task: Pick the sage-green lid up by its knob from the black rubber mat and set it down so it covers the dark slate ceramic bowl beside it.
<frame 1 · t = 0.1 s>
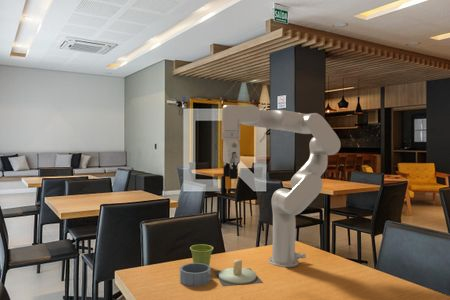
hand: (230, 177, 146), 37 cm above the table, tool pointing down, fingers open, 9 cm apart
plant pot: (201, 269, 143), on the table
mat: (237, 278, 134), on the table
lid: (237, 276, 134), point 1 cm above the table, touching mat
bowl: (195, 281, 130), on the table
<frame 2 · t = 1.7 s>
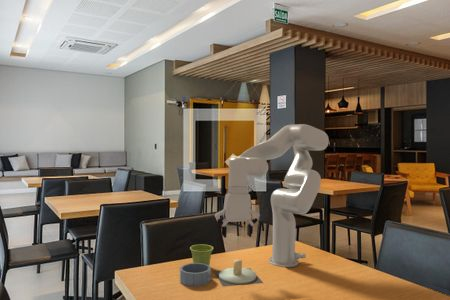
hand: (236, 236, 134), 16 cm above the table, tool pointing down, fingers open, 9 cm apart
nothing on the table moved.
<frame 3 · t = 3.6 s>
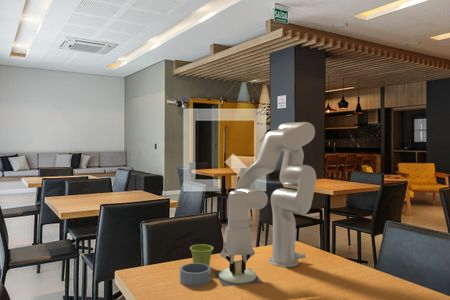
hand: (237, 272, 134), 2 cm above the table, tool pointing down, fingers closed on lid, 3 cm apart
lid: (237, 276, 134), point 1 cm above the table, touching gripper, mat
everything else where it was.
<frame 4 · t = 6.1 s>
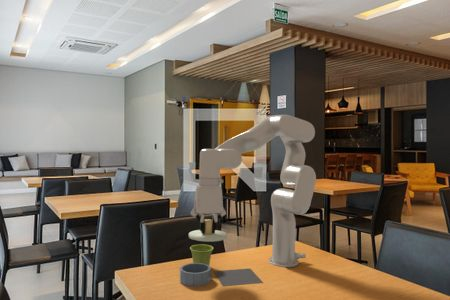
hand: (207, 232, 131), 18 cm above the table, tool pointing down, fingers closed on lid, 3 cm apart
lid: (207, 236, 131), point 16 cm above the table, touching gripper
everything else where it was.
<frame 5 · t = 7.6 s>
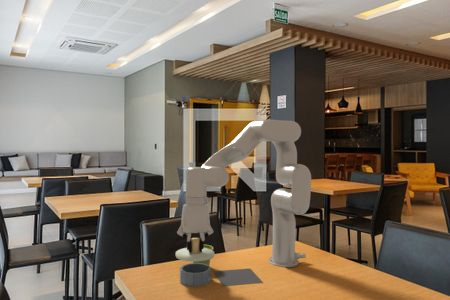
hand: (195, 251, 130), 11 cm above the table, tool pointing down, fingers closed on lid, 3 cm apart
lid: (195, 255, 130), point 10 cm above the table, touching gripper
everything else where it was.
when the fingers open (8 cm above the table, at t = 8.9 s): lid drops 1 cm, resting on bowl.
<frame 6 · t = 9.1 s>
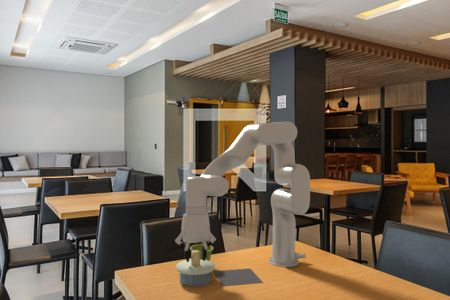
hand: (195, 259, 130), 8 cm above the table, tool pointing down, fingers open, 5 cm apart
lid: (195, 268, 130), point 5 cm above the table, touching bowl
everything else where it was.
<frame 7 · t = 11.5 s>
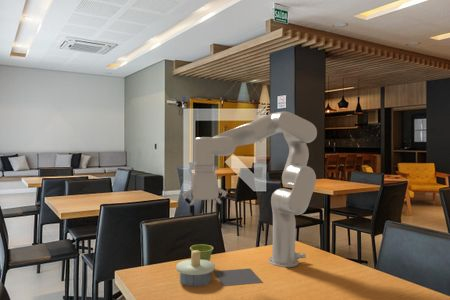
hand: (205, 214, 136), 23 cm above the table, tool pointing down, fingers open, 9 cm apart
nothing on the table moved.
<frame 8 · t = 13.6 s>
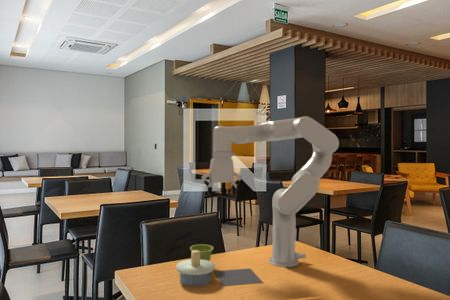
hand: (221, 196, 151), 28 cm above the table, tool pointing down, fingers open, 9 cm apart
nothing on the table moved.
at the end: lid 0.1 cm off-centre on the bowl, point 5.0 cm above the bowl's base; lid tilted 0°; the gripper is holding nothing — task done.
